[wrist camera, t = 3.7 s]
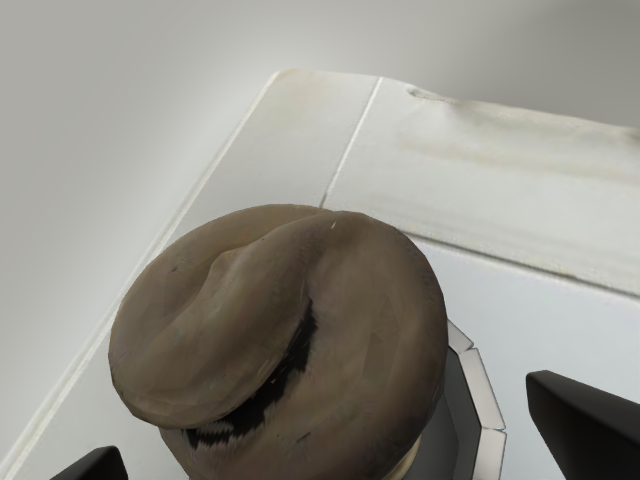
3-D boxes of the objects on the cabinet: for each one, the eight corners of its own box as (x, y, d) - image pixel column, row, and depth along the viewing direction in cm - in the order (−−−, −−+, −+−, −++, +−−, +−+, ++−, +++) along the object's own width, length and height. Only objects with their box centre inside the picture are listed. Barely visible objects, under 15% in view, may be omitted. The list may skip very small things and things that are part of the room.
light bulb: (270, 474, 18) (-26, 412, 5) (313, 355, 20) (184, 122, 8) (397, 529, 16) (414, 633, 3) (426, 392, 18) (497, 166, 6)
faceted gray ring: (531, 453, 17) (577, 438, 12) (332, 666, 14) (307, 735, 10) (361, 282, 22) (355, 231, 18) (196, 414, 19) (143, 390, 15)
